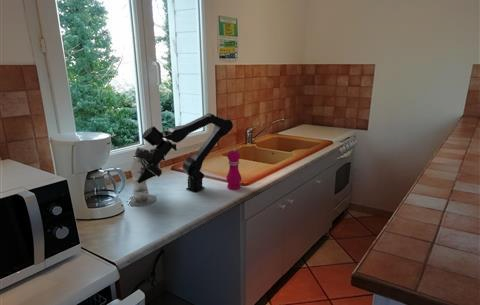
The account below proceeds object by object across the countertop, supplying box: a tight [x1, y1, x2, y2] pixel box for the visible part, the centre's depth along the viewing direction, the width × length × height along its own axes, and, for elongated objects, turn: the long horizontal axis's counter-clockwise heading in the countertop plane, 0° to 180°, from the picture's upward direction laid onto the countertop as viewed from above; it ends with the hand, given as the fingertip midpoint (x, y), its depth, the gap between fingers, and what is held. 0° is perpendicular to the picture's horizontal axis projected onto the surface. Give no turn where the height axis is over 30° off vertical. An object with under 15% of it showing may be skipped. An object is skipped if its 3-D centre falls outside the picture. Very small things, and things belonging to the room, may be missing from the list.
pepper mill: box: [225, 147, 242, 191], centre depth 152 cm, size 7×7×20 cm
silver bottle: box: [130, 154, 150, 201], centre depth 137 cm, size 6×7×20 cm
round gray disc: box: [127, 193, 158, 208], centre depth 140 cm, size 13×13×1 cm
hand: (136, 180), depth 136 cm, fingers closed on silver bottle, 6 cm apart
